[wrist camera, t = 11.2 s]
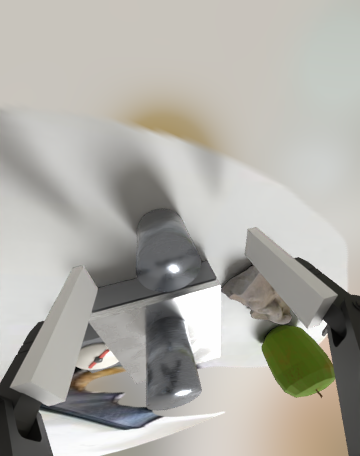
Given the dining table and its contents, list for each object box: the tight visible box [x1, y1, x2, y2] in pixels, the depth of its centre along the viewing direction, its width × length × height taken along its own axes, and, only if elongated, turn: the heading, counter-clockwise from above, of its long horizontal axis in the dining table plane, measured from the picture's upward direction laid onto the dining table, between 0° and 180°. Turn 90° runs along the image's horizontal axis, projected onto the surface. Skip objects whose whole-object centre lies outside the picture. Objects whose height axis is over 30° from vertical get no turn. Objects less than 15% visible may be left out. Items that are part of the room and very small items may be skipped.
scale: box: [76, 261, 217, 373], centre depth 23 cm, size 20×18×4 cm
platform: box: [89, 280, 221, 384], centre depth 22 cm, size 14×18×1 cm
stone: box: [221, 266, 292, 324], centre depth 25 cm, size 15×10×4 cm, turn 43°
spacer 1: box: [136, 209, 201, 292], centre depth 15 cm, size 5×5×6 cm
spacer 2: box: [145, 317, 202, 410], centre depth 17 cm, size 5×5×6 cm
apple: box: [262, 325, 335, 398], centre depth 33 cm, size 11×11×11 cm
